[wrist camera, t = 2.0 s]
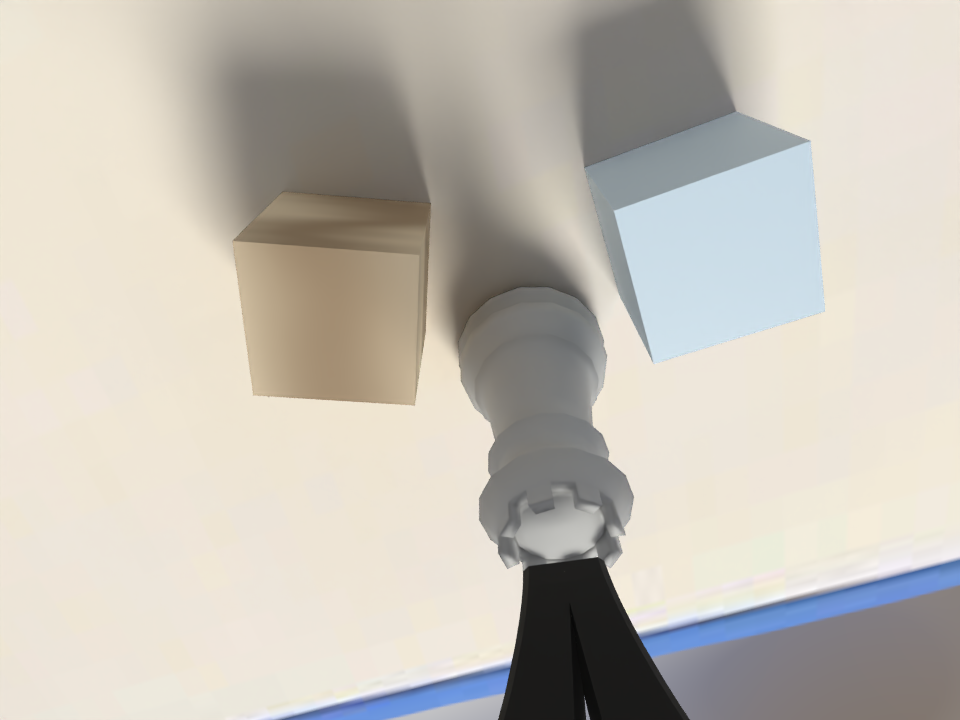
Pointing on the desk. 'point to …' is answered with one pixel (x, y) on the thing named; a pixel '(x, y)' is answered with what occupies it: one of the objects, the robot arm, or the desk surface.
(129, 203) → the desk surface
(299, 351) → the beech block
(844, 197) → the desk surface
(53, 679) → the desk surface
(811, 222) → the pale blue block
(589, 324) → the rook chess piece
